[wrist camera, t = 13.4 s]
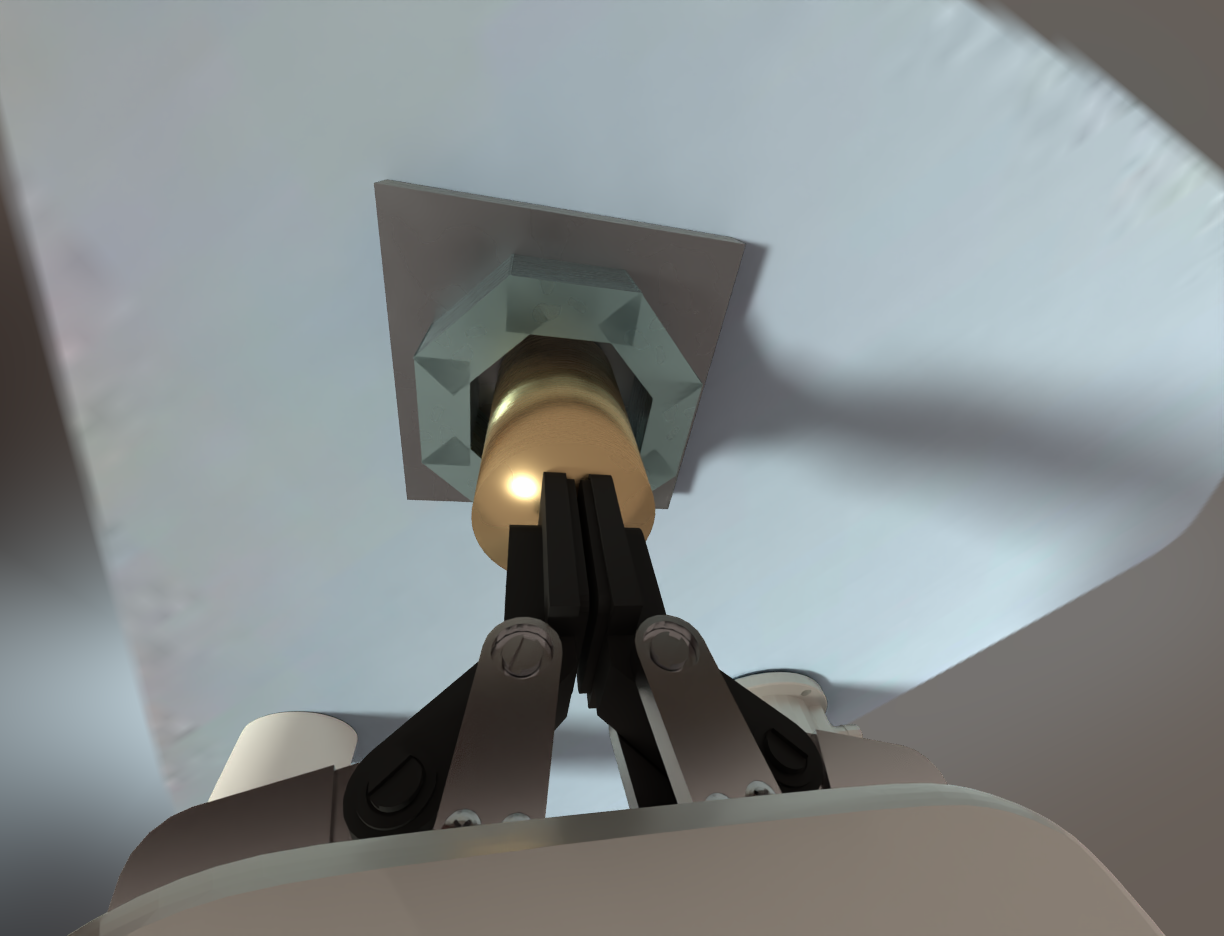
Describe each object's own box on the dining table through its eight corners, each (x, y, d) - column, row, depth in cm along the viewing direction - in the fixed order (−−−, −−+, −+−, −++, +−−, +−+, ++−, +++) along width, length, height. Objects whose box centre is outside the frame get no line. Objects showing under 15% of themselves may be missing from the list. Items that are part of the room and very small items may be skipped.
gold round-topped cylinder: (623, 336, 17) (672, 448, 11) (606, 441, 20) (638, 583, 13) (497, 323, 17) (469, 436, 10) (496, 434, 19) (473, 583, 13)
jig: (730, 237, 17) (783, 262, 14) (661, 490, 24) (684, 552, 20) (386, 179, 15) (340, 192, 11) (414, 479, 22) (390, 548, 18)
